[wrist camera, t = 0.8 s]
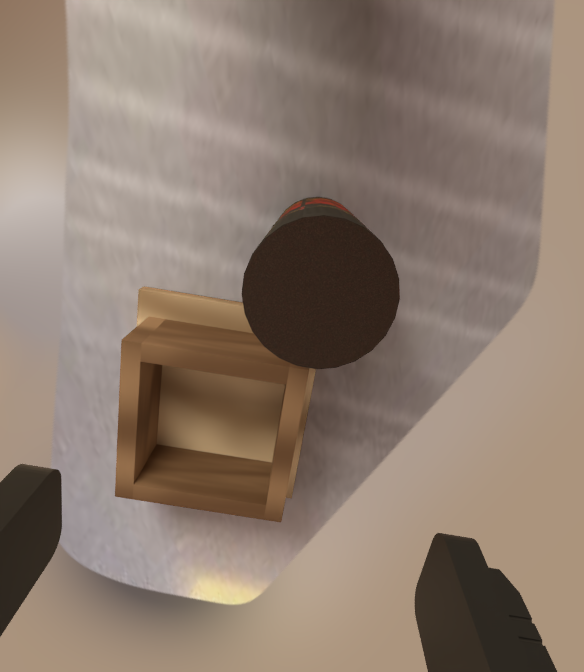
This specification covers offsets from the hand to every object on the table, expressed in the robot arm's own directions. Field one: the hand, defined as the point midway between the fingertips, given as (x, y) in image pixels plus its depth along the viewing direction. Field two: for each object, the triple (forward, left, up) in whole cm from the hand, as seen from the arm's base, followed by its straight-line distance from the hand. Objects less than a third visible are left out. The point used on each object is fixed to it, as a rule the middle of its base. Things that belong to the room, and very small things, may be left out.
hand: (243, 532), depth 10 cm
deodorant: (-3, +1, -24) cm, 25 cm away
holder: (+9, -4, -24) cm, 26 cm away
